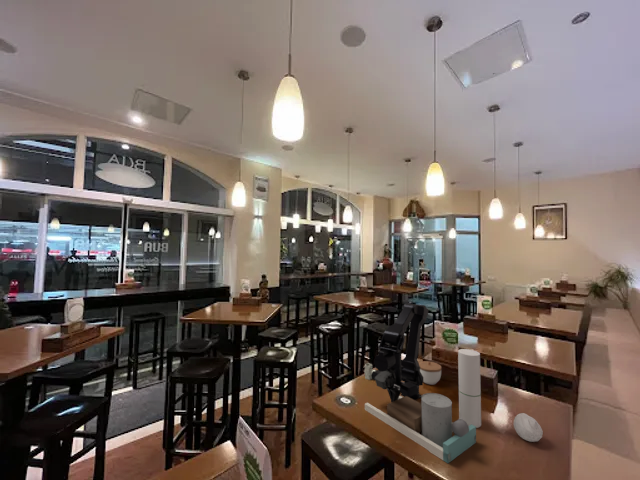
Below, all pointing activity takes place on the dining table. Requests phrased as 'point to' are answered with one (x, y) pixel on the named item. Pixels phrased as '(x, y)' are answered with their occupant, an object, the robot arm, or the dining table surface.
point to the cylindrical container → (469, 387)
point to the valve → (368, 371)
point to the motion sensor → (527, 427)
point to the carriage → (406, 412)
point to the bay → (451, 447)
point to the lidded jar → (430, 372)
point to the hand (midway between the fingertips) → (393, 404)
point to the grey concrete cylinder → (436, 418)
